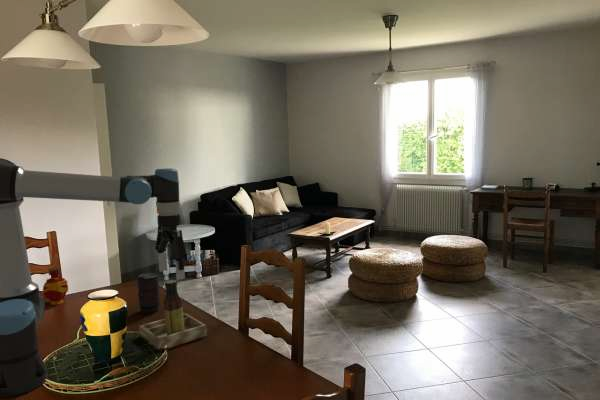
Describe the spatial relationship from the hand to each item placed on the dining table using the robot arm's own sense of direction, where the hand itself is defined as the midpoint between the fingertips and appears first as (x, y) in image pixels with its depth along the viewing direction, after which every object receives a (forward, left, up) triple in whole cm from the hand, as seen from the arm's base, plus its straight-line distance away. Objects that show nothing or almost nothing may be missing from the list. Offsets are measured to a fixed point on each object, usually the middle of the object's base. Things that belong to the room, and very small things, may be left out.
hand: (171, 274), depth 161 cm
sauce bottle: (0, 0, -22) cm, 22 cm away
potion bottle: (-22, +70, -23) cm, 77 cm away
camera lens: (+4, +32, -23) cm, 40 cm away
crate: (0, +2, -23) cm, 23 cm away
